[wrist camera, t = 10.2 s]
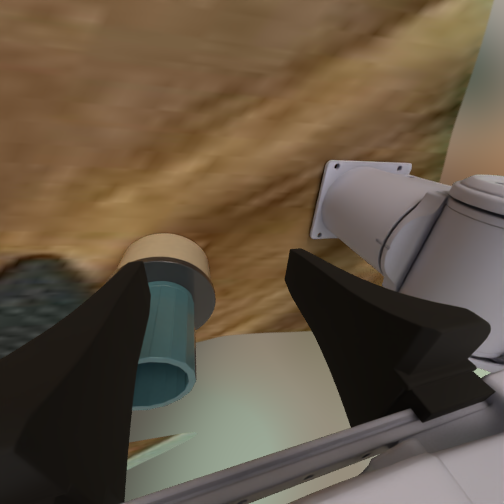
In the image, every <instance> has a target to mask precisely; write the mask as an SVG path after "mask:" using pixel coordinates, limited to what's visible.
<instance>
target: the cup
mask: <svg viewBox="0 0 504 504" xmlns="http://www.w3.org/2000/svg"><path fill="white" fill-rule="evenodd" d="M148 284H149V288H150V293H151V302H150V313H149V318H148V323H147V327H146V332H145V336H144V340H143V344H142V349H141V353H140V357H139V362H138V367H137V373H136V380H135V388H134V396H133V406H132V410H150V409H154V408H158V407H163V406H167V405H169V404H171V403H173V402H175V401H178V400H180V399H181V398H183V397H184V396H185V395H187V394H188V393H189V392H190V391H191V390H192V388H193V386H194V384H195V382H196V337H195V304H194V299H193V296H192V295H191V293H190V292H189V291H188V290H187V289H186V288H184V287H183V286H181V285H179V284H176V283H173V282H168V281H153V282H148Z"/></svg>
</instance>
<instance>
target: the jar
mask: <svg viewBox="0 0 504 504" xmlns="http://www.w3.org/2000/svg"><path fill="white" fill-rule="evenodd" d="M136 261H143V262H144V267H145V271H146V275H147V280H148V282H153V281H168V282H173V283H176V284H179V285H181V286H183V287H184V288H186V289H187V290H188V291H189V292H190V293H191V295H192V296H193V299H194V304H195V330H197V329H198V328H200V327H201V326H202V325H203V324H204V323H205V322H206V321H207V320H208V319H209V318H210V316H211V314H212V313H213V310H214V307H215V300H216V298H215V290H214V287H213V284H212V282H211V276H210V267H209V261H208V258H207V256H206V254H205V253H204V251H203V250H202V249H201V248H200V247H199V246H198V245H197V244H196V243H194V242H193V241H191V240H189V239H187V238H185V237H182V236H179V235H175V234H168V233H160V234H153V235H148V236H145V237H143V238H141V239H139V240H137V241H135V242H134V243H132V244H131V245H130V246H129V247H128V248H127V250H126V251H125V252H124V254H123V256H122V258H121V260H120V262H119V264H118V266H117V268H116V270H115V272H114V273H113V274H112V275H111V276H110V278H109V279H108V280H107V282H108V281H109V280H110V279H111V278H112V277H113V276H114V275H115V274H116V273H117V272H118V271H119V270H120V269H121V268H123V267H124V266H125V265H126V264H127V263H128V262H136ZM107 282H106V283H107Z"/></svg>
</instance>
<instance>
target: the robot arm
mask: <svg viewBox="0 0 504 504" xmlns="http://www.w3.org/2000/svg"><path fill="white" fill-rule="evenodd" d="M336 164H337V167H336V168H334V166H335V165H336ZM398 167H399V168H398ZM397 168H398V169H397ZM411 168H412V165H411V164H410V163H399V162H373V161H347V160H329V161H328V162H327V163H326V165H325V169H324V174H323V178H322V183H321V187H320V191H319V196H318V200H317V205H316V209H315V214H314V218H313V222H312V227H311V231H310V237H311V238H312V239H327V238H339V239H340V240H341V241H342V242H344V243H345V244H346V245H347V246H348V247H350V248H351V249H352V250H353V251H354V252H356V253H357V254H358V255H359V256H360V257H362V258H363V259H364V260H365V261H366V262H368V263H369V264H370V265H371V266H373V267H374V268H375V269H376V270H377V271H379V272H380V273H381V274H382V275H383V276H384V281H383V283H382V286H383V287H381V286H379V285H376V284H373V283H371V282H368V281H366V280H363V279H361V278H359V277H356V276H354V275H352V274H350V273H348V272H346V271H344V270H342V269H340V268H338V267H336V266H334V265H332V264H330V263H328V262H326V261H324V260H323V259H321V258H319V257H317V256H315V255H313V254H311V253H310V252H308V251H305V250H303V249H301V248H300V249H290V253H289V259H288V264H287V270H286V275H285V282H286V284H287V287H288V289H289V292H290V294H291V296H292V298H293V300H294V301H295V303H296V305H297V307H298V308H299V310H300V312H301V313H302V315H303V317H304V318H305V320H306V322H307V323H308V325H309V327H310V328H311V330H312V332H313V334H314V336H315V338H316V340H317V342H318V344H319V346H320V349H321V350H322V353H323V355H324V358H325V360H326V362H327V364H328V367H329V369H330V372H331V374H332V377H333V379H334V382H335V384H336V386H337V389H338V392H339V395H340V397H341V400H342V403H343V406H344V408H345V412H346V414H347V417H348V420H349V423H350V426H351V428H349V429H346V430H343V431H340V432H337V433H334V434H330V435H327V436H324V437H321V438H318V439H315V440H312V441H309V442H306V443H303V444H300V445H297V446H294V447H291V448H288V449H285V450H282V451H279V452H276V453H273V454H270V455H266V456H263V457H261V458H257V459H254V460H252V461H248V462H245V463H242V464H239V465H236V466H233V467H230V468H227V469H224V470H221V471H218V472H215V473H212V474H209V475H206V476H203V477H200V478H196V479H194V480H190V481H187V482H184V483H181V484H178V485H175V486H172V487H169V488H166V489H163V490H160V491H157V492H154V493H151V494H148V495H145V496H142V497H139V498H136V499H133V500H130V501H127V502H124V499H125V498H124V497H125V483H126V471H127V457H128V446H129V435H130V423H131V415H132V406H133V396H134V388H135V380H136V373H137V367H138V362H139V357H140V353H141V349H142V344H143V340H144V336H145V332H146V327H147V323H148V318H149V313H150V302H151V293H150V288H149V284H148V280H147V275H146V271H145V267H144V262H143V261H136V262H128V263H127V264H126V265H125V266H124V267H123V268H121V269H120V270H119V271H118V272H117V273H116V274H115V275H114V276H113V277H112V278H111V279H110V280H109V281H108V282H107V283H106V284H105V285H104V286H103V287H101V288H100V289H99V290H98V291H97V292H96V293H95V294H93V295H92V296H91V297H90V298H89V299H88V300H86V301H85V302H84V303H83V304H82V305H80V306H79V307H78V308H77V309H76V310H74V311H73V312H72V313H70V314H69V315H68V316H66V317H65V318H64V319H62V320H61V321H59V322H58V323H57V324H55V325H54V326H53V327H51V328H50V329H48V330H47V331H45V332H44V333H42V334H41V335H39V336H37V337H36V338H34V339H33V340H31V341H30V342H28V343H26V344H25V345H23V346H22V347H20V348H19V349H17V350H15V351H14V352H12V353H11V354H9V355H7V356H6V357H4V358H2V359H0V504H249V503H251V502H254V501H256V500H259V499H262V498H264V497H267V496H270V495H272V494H275V493H278V492H280V491H283V490H285V489H288V488H291V487H293V486H296V485H298V484H301V483H304V482H307V481H309V480H312V479H314V478H317V477H320V476H322V475H325V474H328V473H330V472H333V471H336V470H338V469H341V468H343V467H346V466H349V465H351V464H354V463H357V462H359V461H362V460H365V459H367V458H370V457H372V456H375V455H378V454H379V455H378V456H376V457H374V458H372V459H371V461H370V463H369V465H368V466H367V468H366V469H365V470H364V471H363V472H362V473H361V474H359V475H358V476H356V477H353V478H351V479H348V480H345V481H342V482H339V483H337V484H335V485H332V486H329V487H327V488H325V489H322V490H319V491H317V492H314V493H312V494H309V495H307V496H305V497H302V498H300V499H298V500H295V501H293V502H290V503H288V504H504V176H495V175H473V176H470V177H468V178H466V179H464V180H461V181H457V182H455V183H453V184H452V186H449V185H445V184H441V183H438V182H434V181H430V180H427V179H423V178H419V177H415V176H412V175H409V173H410V171H411ZM319 233H320V235H318V234H319ZM317 235H318V236H317ZM477 368H480V369H483V370H486V371H489V372H491V373H490V374H488V375H486V376H484V377H482V378H480V377H478V375H476V374H475V373H474V372H473V371H474V370H476V369H477Z"/></svg>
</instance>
